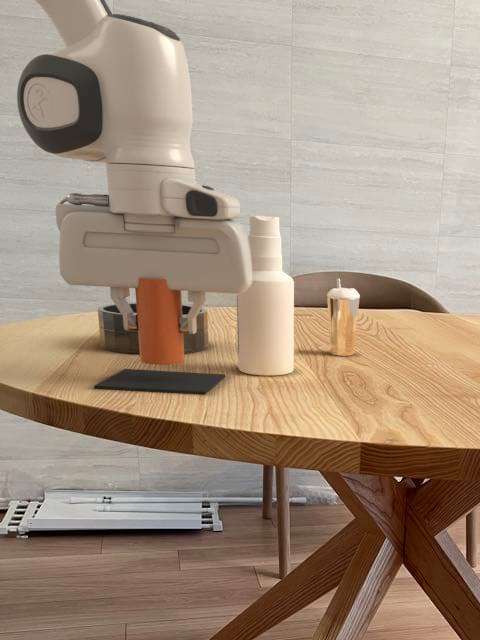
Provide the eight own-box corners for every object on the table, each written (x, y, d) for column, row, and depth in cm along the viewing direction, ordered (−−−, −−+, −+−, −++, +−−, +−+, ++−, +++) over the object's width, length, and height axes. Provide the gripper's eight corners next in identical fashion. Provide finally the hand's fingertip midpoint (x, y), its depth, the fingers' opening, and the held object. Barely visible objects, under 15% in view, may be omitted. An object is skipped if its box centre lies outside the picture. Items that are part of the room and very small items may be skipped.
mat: (94, 388, 89) (94, 385, 89) (124, 371, 98) (124, 368, 98) (205, 394, 89) (205, 391, 89) (225, 376, 98) (225, 374, 98)
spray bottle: (292, 366, 107) (292, 217, 100) (295, 376, 100) (295, 218, 94) (238, 365, 105) (235, 214, 99) (238, 375, 99) (234, 215, 92)
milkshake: (351, 350, 121) (353, 279, 117) (361, 356, 116) (364, 283, 112) (321, 350, 119) (322, 278, 116) (330, 356, 115) (331, 282, 111)
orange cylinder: (134, 363, 91) (128, 277, 87) (147, 356, 95) (142, 274, 92) (178, 365, 91) (173, 280, 87) (189, 358, 95) (185, 276, 92)
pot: (85, 351, 109) (81, 312, 107) (121, 335, 122) (118, 300, 121) (193, 357, 109) (192, 318, 107) (218, 341, 123) (217, 306, 121)
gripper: (41, 191, 83) (55, 330, 89) (242, 201, 83) (246, 340, 89) (65, 192, 89) (78, 323, 94) (254, 202, 89) (256, 332, 95)
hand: (161, 331), depth 92 cm, fingers closed on orange cylinder, 5 cm apart
